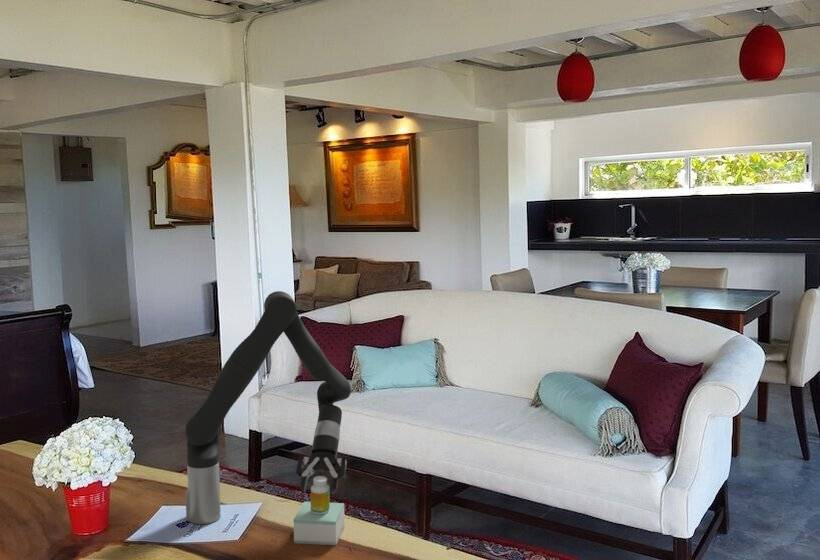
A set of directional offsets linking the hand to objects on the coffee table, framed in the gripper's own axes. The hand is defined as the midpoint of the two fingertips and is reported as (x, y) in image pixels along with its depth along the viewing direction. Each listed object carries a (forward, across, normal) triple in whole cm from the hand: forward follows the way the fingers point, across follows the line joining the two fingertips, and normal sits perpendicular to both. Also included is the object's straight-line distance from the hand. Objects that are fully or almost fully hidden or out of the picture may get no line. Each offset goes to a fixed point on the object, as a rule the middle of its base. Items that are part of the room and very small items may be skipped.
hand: (318, 491), depth 214 cm
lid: (+4, 0, +6) cm, 7 cm away
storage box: (+9, 0, +10) cm, 14 cm away
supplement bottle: (+4, 0, +6) cm, 7 cm away
